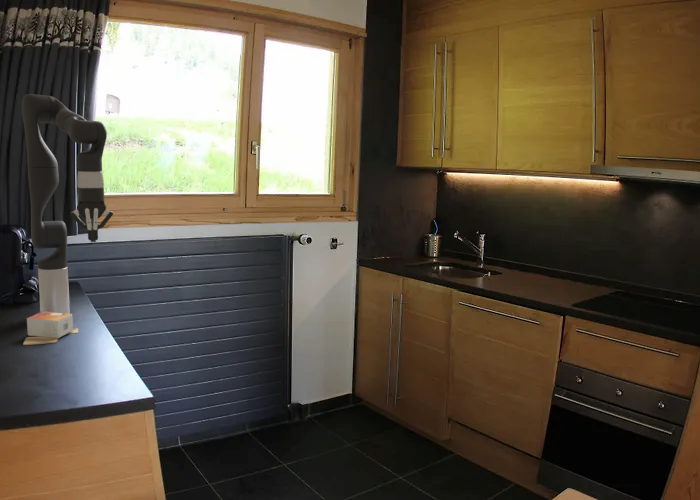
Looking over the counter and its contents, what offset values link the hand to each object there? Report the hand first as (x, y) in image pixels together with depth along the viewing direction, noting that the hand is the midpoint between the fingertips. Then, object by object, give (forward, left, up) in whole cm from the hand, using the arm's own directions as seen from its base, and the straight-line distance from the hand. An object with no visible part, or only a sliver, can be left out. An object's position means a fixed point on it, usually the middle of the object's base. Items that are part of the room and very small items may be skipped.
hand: (93, 241), depth 196 cm
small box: (+3, -8, -26) cm, 27 cm away
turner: (-2, -13, -29) cm, 32 cm away
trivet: (+6, -15, -29) cm, 33 cm away
